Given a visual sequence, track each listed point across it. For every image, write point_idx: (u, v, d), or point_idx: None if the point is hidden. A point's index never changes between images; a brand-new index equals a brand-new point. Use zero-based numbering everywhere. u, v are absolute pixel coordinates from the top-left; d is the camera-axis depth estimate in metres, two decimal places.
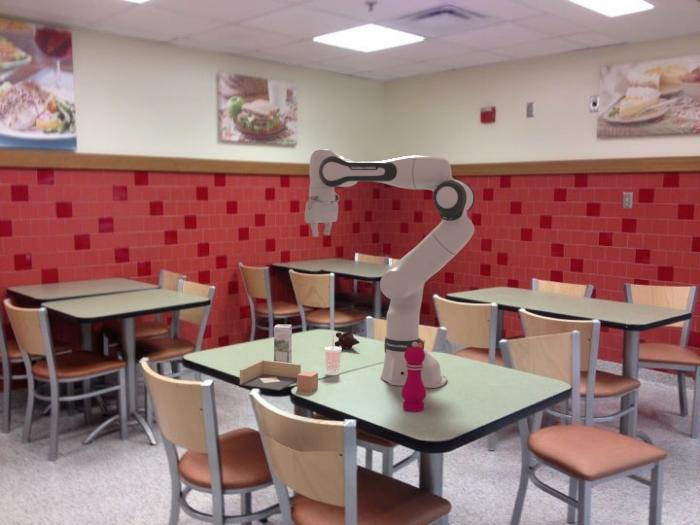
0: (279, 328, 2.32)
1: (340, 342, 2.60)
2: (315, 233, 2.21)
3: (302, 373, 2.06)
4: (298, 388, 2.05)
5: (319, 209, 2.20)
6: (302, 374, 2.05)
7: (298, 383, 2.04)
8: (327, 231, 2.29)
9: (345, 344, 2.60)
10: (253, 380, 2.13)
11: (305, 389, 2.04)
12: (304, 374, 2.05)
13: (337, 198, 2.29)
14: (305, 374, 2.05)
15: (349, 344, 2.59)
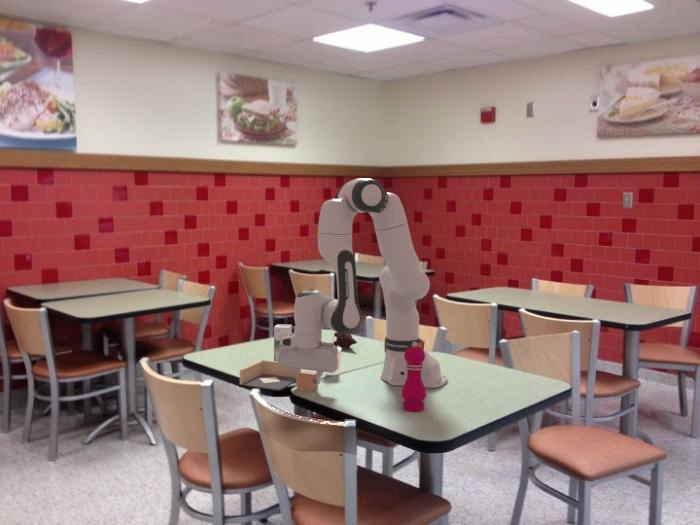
0: (279, 328, 2.32)
1: (338, 342, 2.61)
2: (319, 380, 2.05)
3: (302, 373, 2.06)
4: (298, 388, 2.05)
5: None
6: (302, 374, 2.05)
7: (298, 383, 2.04)
8: None
9: (343, 344, 2.60)
10: (253, 380, 2.13)
11: (305, 389, 2.04)
12: (304, 374, 2.05)
13: None
14: (305, 374, 2.05)
15: (347, 344, 2.59)
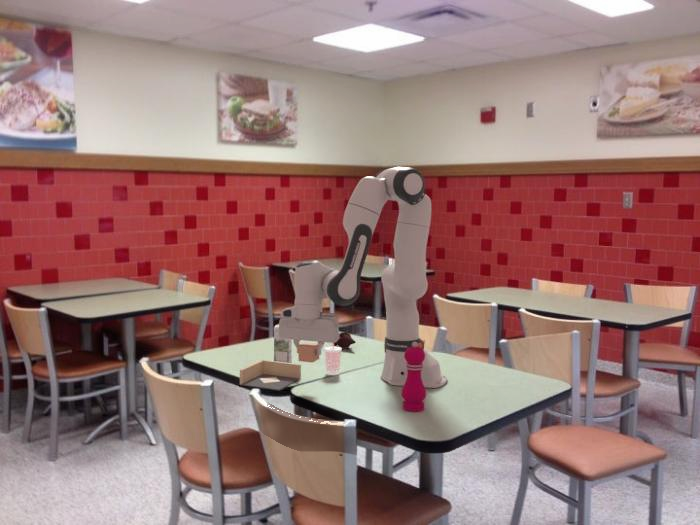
0: None
1: (337, 342, 2.61)
2: (320, 351, 2.04)
3: (303, 344, 2.05)
4: (299, 359, 2.04)
5: None
6: (303, 345, 2.04)
7: (299, 354, 2.04)
8: None
9: (342, 344, 2.60)
10: (253, 380, 2.13)
11: (306, 360, 2.03)
12: (305, 345, 2.04)
13: None
14: (306, 345, 2.04)
15: (346, 344, 2.59)
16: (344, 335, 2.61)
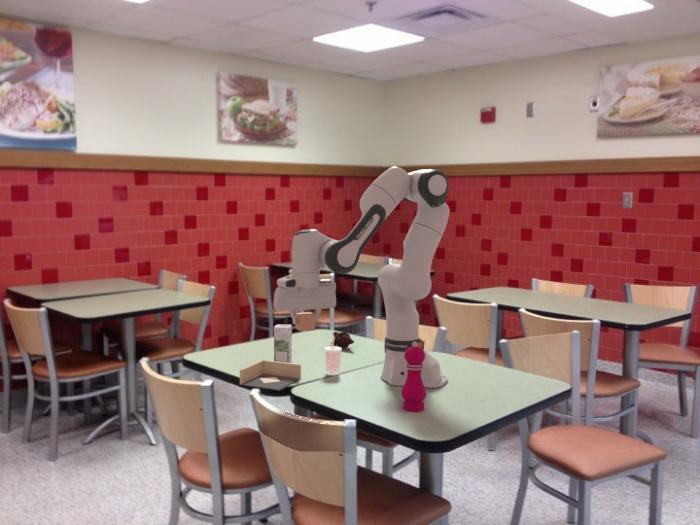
0: (279, 328, 2.32)
1: (336, 341, 2.61)
2: None
3: (300, 314, 2.03)
4: (301, 329, 2.01)
5: None
6: (303, 314, 2.02)
7: (301, 324, 2.01)
8: None
9: (340, 343, 2.61)
10: (253, 380, 2.13)
11: (309, 328, 2.02)
12: (304, 314, 2.03)
13: None
14: (305, 314, 2.03)
15: (344, 343, 2.60)
16: (343, 335, 2.61)
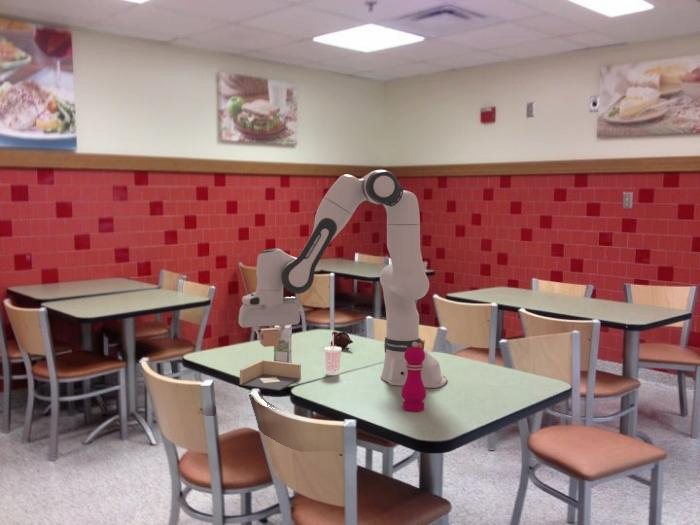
0: (279, 328, 2.32)
1: (335, 341, 2.62)
2: None
3: (265, 330, 2.11)
4: (265, 345, 2.09)
5: None
6: (267, 330, 2.10)
7: (265, 340, 2.09)
8: None
9: (339, 343, 2.61)
10: (253, 380, 2.13)
11: (272, 344, 2.10)
12: (268, 330, 2.11)
13: None
14: (269, 330, 2.11)
15: (343, 343, 2.60)
16: (342, 335, 2.62)
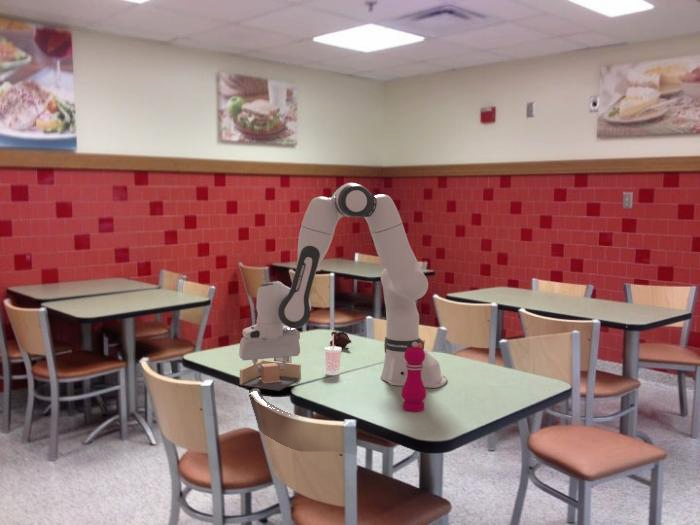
0: None
1: None
2: None
3: (265, 366, 2.12)
4: (266, 380, 2.10)
5: None
6: (268, 366, 2.11)
7: (266, 376, 2.10)
8: None
9: (338, 343, 2.61)
10: (253, 380, 2.13)
11: (273, 380, 2.11)
12: (269, 366, 2.12)
13: None
14: (269, 366, 2.12)
15: (342, 343, 2.60)
16: (341, 335, 2.62)
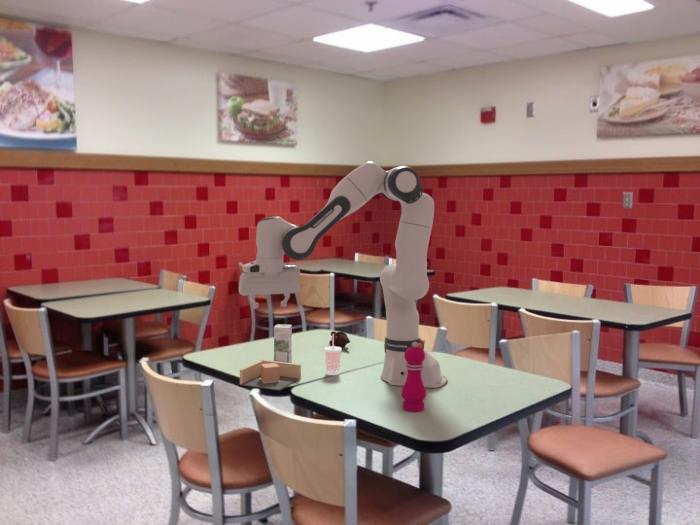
0: (279, 328, 2.32)
1: None
2: None
3: (265, 366, 2.12)
4: (266, 380, 2.10)
5: None
6: (268, 366, 2.11)
7: (266, 376, 2.10)
8: None
9: (337, 343, 2.61)
10: (253, 380, 2.13)
11: (273, 380, 2.11)
12: (269, 366, 2.12)
13: None
14: (269, 366, 2.12)
15: (341, 343, 2.60)
16: (340, 334, 2.62)
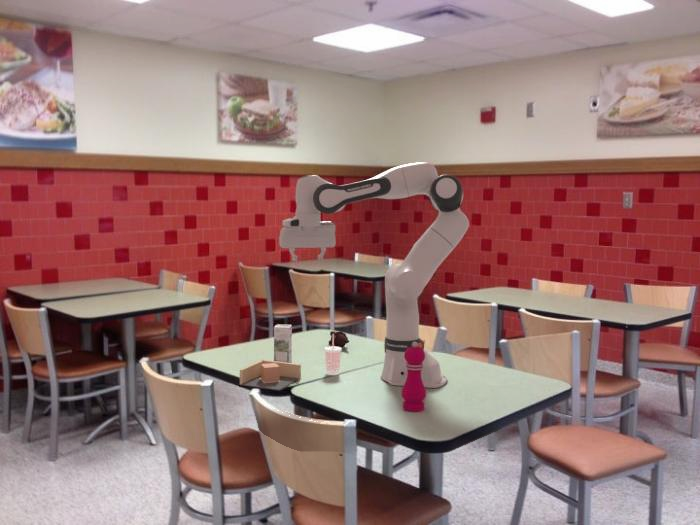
0: (279, 328, 2.32)
1: None
2: None
3: (265, 366, 2.12)
4: (266, 380, 2.10)
5: None
6: (268, 366, 2.11)
7: (266, 376, 2.10)
8: None
9: (336, 343, 2.62)
10: (253, 380, 2.13)
11: (273, 380, 2.11)
12: (269, 366, 2.12)
13: None
14: (269, 366, 2.12)
15: (340, 343, 2.61)
16: (339, 334, 2.62)
